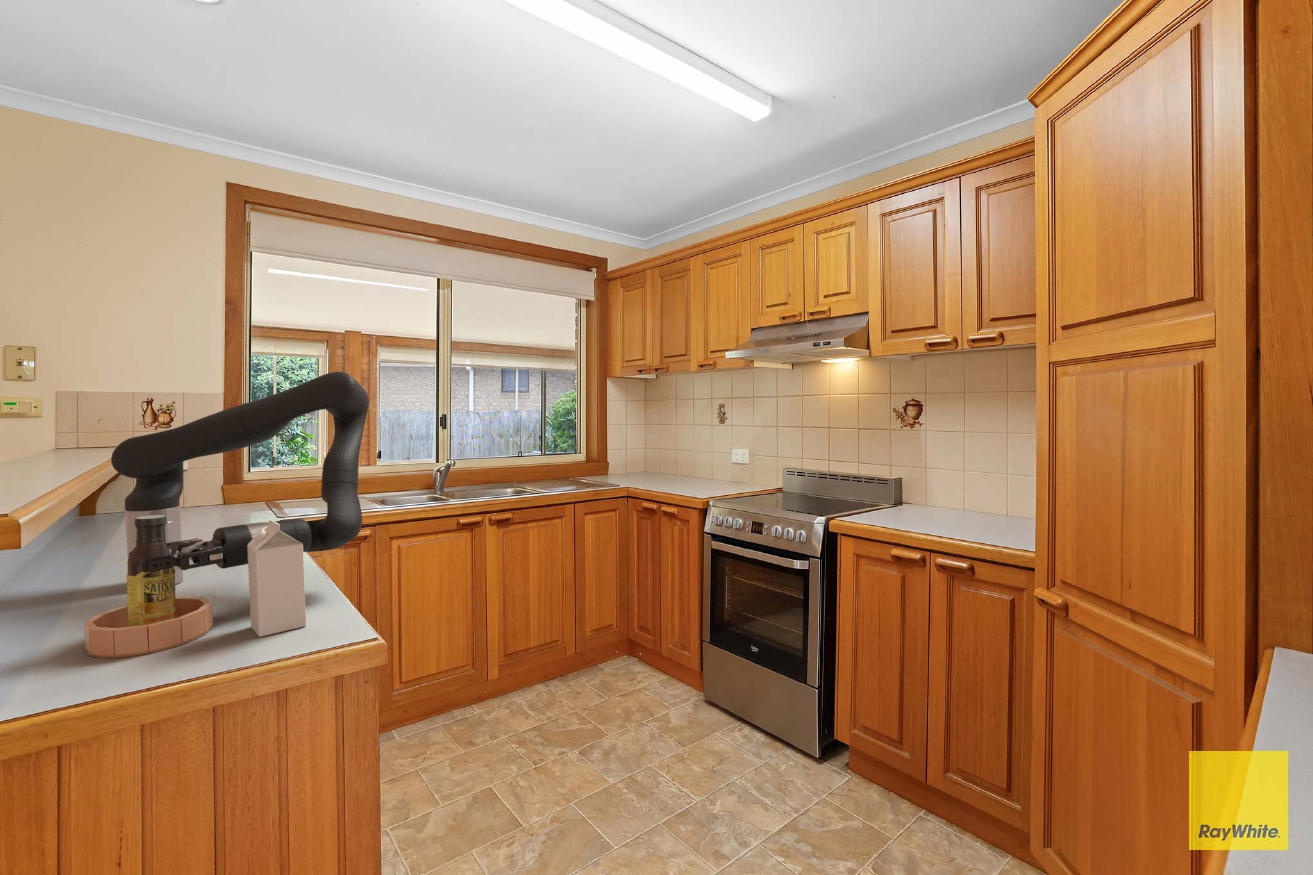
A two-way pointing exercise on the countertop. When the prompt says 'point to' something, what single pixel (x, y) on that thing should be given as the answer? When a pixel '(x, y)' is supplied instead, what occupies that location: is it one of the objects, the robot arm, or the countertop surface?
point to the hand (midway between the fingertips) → (135, 562)
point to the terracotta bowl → (147, 630)
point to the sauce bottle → (150, 576)
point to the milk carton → (276, 581)
